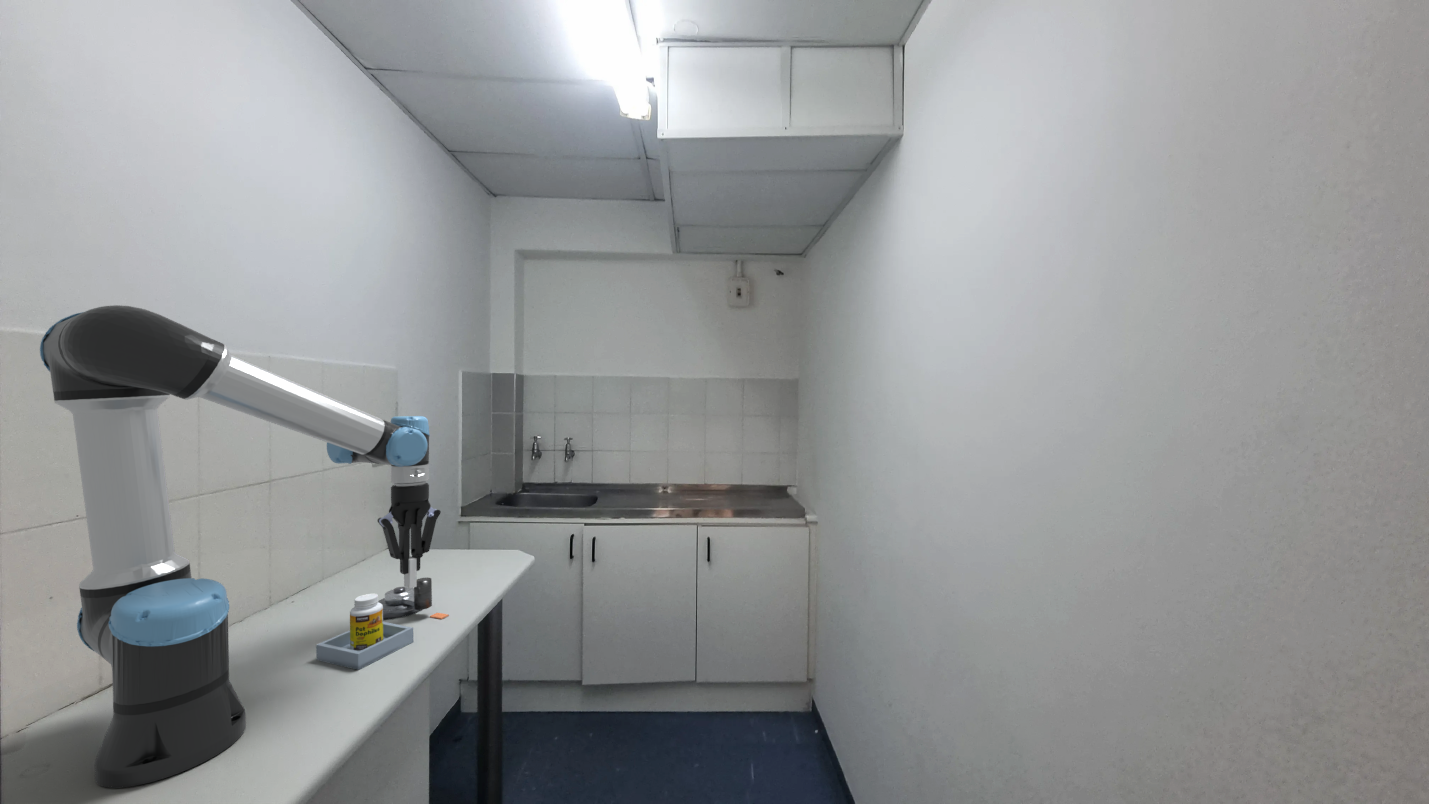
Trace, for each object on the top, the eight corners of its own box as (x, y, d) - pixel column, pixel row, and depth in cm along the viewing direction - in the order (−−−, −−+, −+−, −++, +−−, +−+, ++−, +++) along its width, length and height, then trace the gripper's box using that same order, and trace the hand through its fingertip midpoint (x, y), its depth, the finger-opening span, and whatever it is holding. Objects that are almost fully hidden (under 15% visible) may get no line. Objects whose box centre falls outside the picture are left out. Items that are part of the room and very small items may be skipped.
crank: (379, 602, 123) (378, 576, 123) (404, 593, 128) (404, 568, 128) (415, 613, 116) (414, 585, 116) (440, 603, 122) (439, 577, 122)
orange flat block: (441, 619, 118) (441, 618, 118) (430, 617, 119) (429, 616, 119) (448, 615, 120) (448, 614, 120) (437, 613, 121) (437, 612, 121)
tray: (358, 670, 96) (358, 654, 96) (316, 659, 100) (316, 644, 100) (413, 641, 107) (413, 627, 107) (373, 633, 111) (373, 620, 111)
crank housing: (395, 622, 117) (395, 613, 117) (361, 615, 121) (361, 607, 121) (436, 603, 127) (436, 595, 127) (403, 598, 131) (403, 590, 131)
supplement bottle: (351, 657, 100) (350, 604, 100) (349, 646, 104) (348, 596, 104) (385, 648, 103) (384, 597, 103) (382, 638, 108) (381, 589, 108)
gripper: (386, 488, 110) (386, 598, 110) (447, 481, 121) (447, 581, 121) (371, 485, 114) (371, 591, 114) (431, 478, 125) (431, 575, 125)
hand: (410, 586), depth 118 cm, fingers closed
